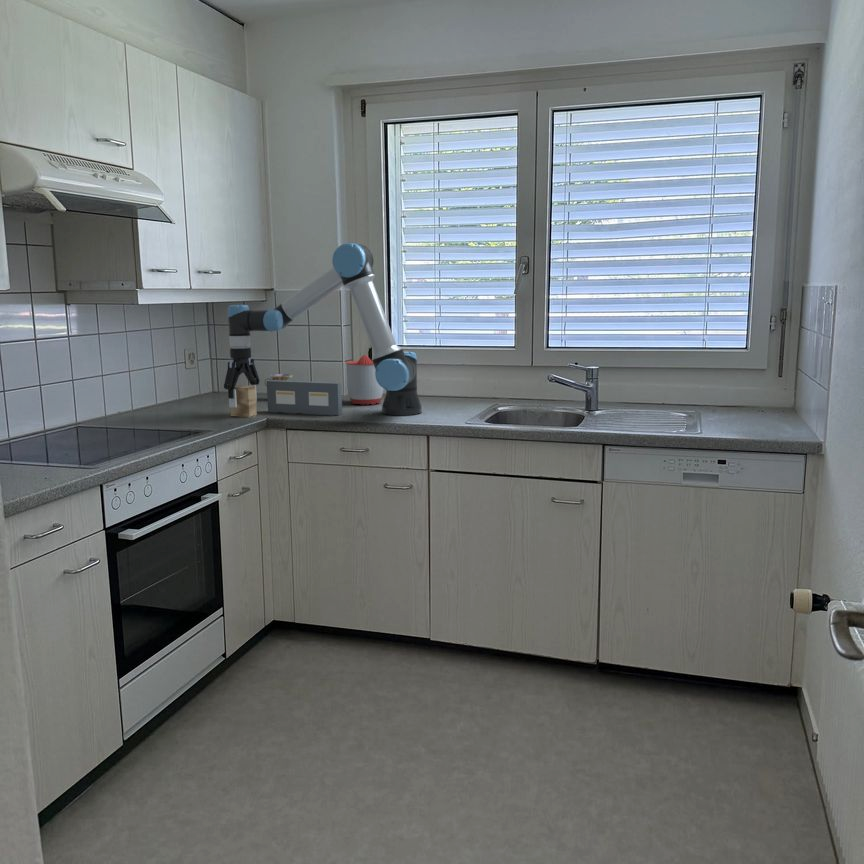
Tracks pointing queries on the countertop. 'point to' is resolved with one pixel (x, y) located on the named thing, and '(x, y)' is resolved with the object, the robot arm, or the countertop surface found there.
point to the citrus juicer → (363, 382)
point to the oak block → (245, 401)
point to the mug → (281, 377)
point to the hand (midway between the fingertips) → (243, 404)
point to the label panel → (304, 397)
